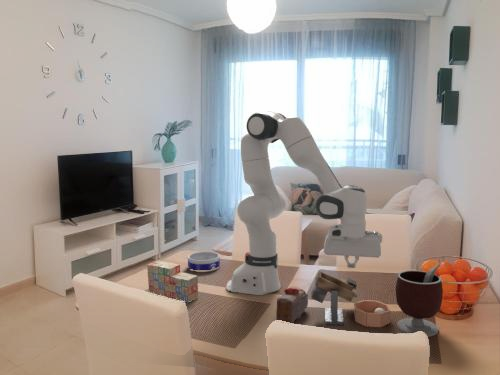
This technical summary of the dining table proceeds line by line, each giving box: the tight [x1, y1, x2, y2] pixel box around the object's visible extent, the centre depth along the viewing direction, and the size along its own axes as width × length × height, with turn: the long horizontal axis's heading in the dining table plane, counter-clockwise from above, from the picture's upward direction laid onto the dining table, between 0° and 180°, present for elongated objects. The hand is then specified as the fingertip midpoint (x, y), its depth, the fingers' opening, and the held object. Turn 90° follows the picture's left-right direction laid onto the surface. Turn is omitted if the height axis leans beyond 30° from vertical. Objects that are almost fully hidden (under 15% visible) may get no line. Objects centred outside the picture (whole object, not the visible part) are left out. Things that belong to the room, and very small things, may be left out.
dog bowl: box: [187, 251, 221, 270], centre depth 202 cm, size 15×15×6 cm
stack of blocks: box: [146, 260, 199, 302], centre depth 167 cm, size 21×6×12 cm, turn 56°
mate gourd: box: [395, 263, 444, 338], centre depth 135 cm, size 16×14×20 cm
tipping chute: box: [310, 270, 358, 304], centre depth 149 cm, size 15×18×8 cm
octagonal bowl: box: [353, 299, 391, 328], centre depth 142 cm, size 11×11×4 cm
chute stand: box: [324, 289, 345, 326], centre depth 144 cm, size 6×11×11 cm, turn 170°
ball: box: [374, 308, 385, 313], centre depth 142 cm, size 4×4×4 cm
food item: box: [275, 286, 309, 324], centre depth 146 cm, size 14×8×10 cm, turn 154°
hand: (351, 267), depth 154 cm, fingers closed
